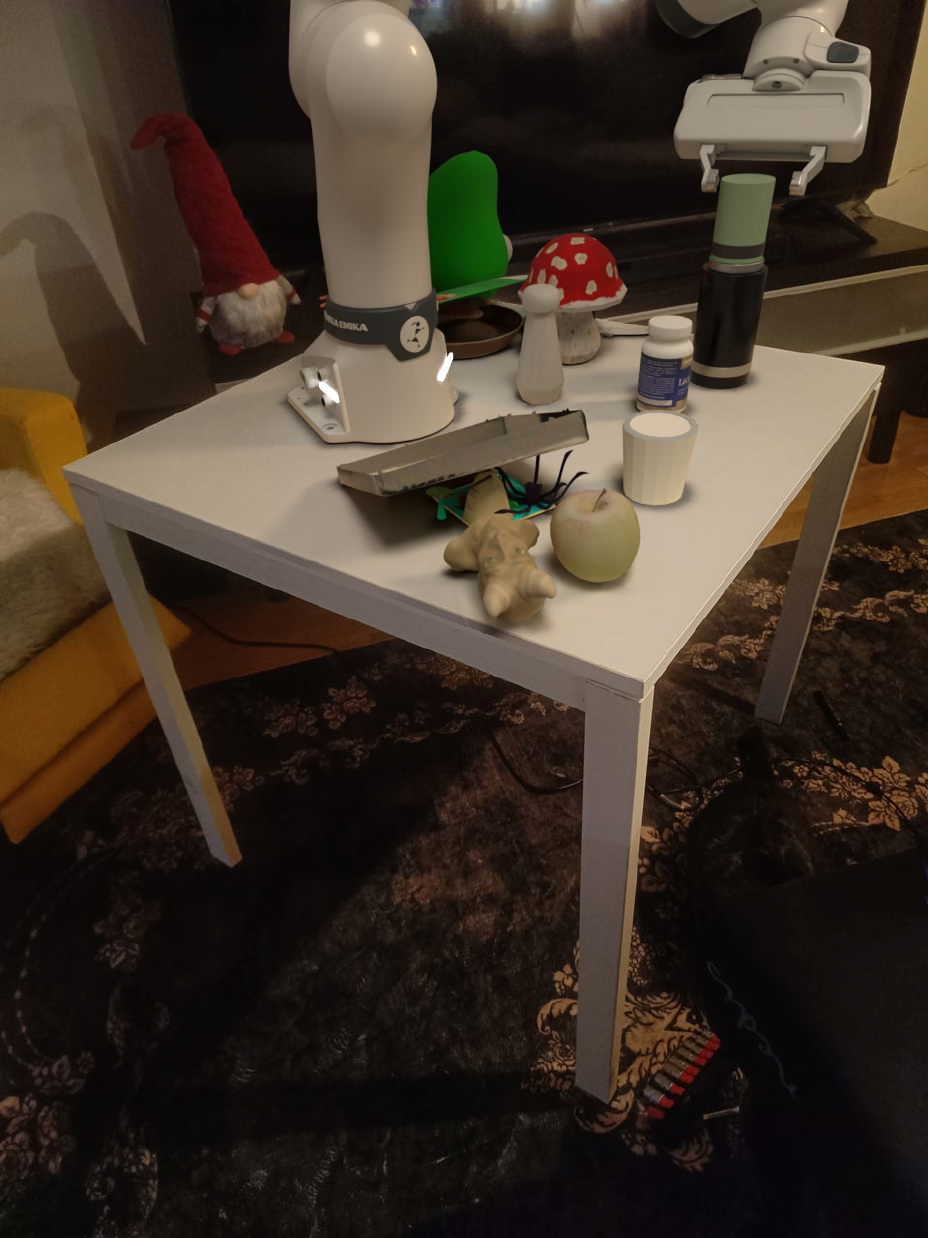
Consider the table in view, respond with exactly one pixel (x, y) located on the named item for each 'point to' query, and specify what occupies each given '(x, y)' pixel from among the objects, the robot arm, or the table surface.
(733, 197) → the green cylinder
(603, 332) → the pocket knife
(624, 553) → the fruit
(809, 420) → the table surface
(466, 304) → the stone tool
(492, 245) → the toy
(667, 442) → the white cup
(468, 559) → the beige knobby lump
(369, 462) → the decorative tile
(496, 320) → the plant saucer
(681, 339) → the pill bottle
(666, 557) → the table surface
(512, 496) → the diorama
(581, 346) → the decorative mushroom
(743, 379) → the flask
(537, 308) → the salt shaker
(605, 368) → the table surface
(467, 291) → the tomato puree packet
